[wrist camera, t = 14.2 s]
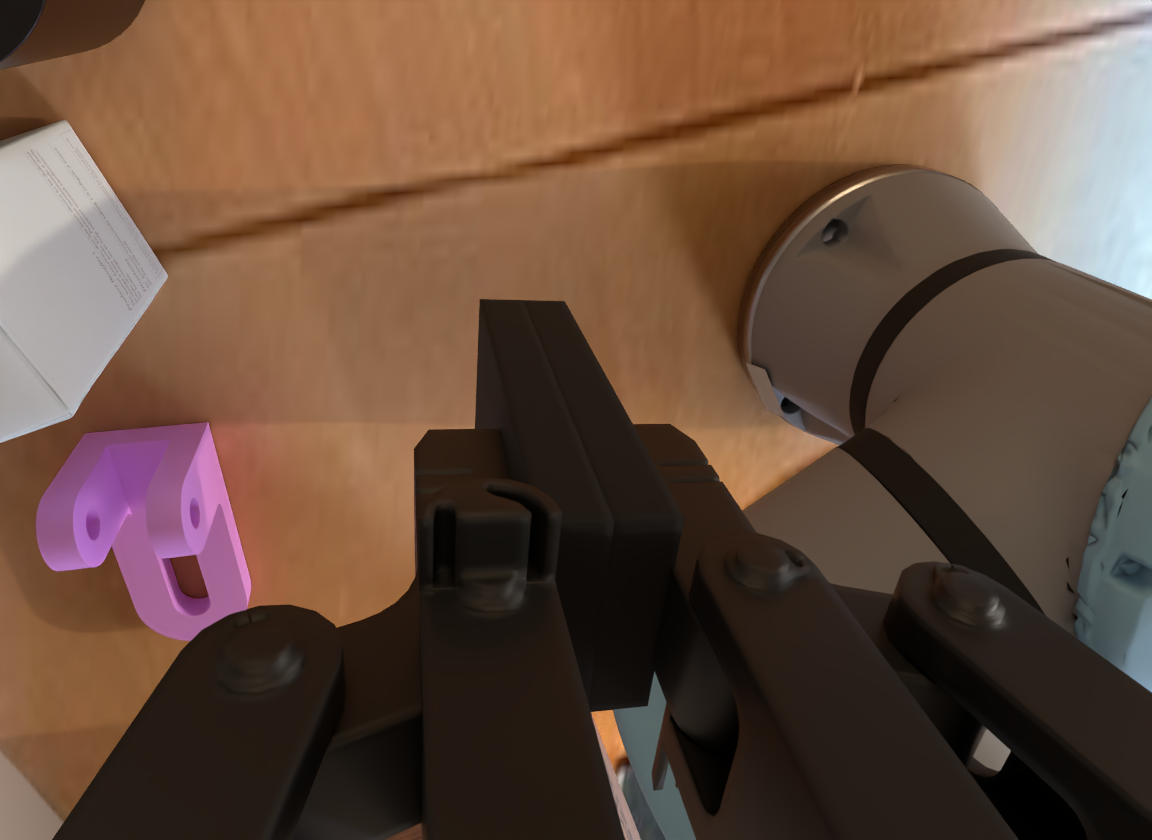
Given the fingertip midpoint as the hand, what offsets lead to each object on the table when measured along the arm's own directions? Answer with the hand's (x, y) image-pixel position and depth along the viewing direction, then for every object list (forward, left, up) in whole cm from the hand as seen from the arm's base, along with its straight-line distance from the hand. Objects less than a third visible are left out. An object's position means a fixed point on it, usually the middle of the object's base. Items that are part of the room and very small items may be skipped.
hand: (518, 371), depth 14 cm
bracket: (+14, +20, -24) cm, 34 cm away
